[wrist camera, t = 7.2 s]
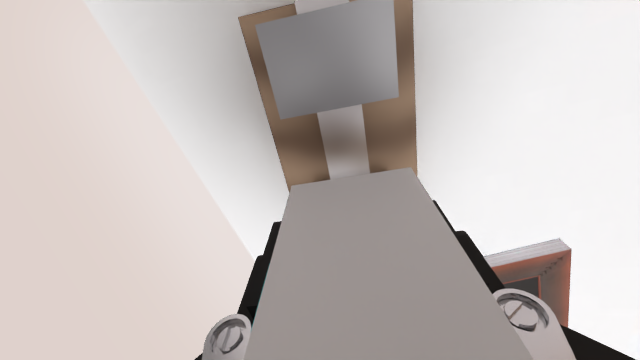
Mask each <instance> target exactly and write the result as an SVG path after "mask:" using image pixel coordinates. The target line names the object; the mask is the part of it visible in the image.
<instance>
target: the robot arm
mask: <svg viewBox="0 0 640 360" xmlns="http://www.w3.org/2000/svg"><path fill="white" fill-rule="evenodd" d="M432 201H433V202H434V204H435V206H436V207H437V209H438V210H439V212H440V213H441V215H442V217H443V218H444V220H445V221H446V223H447V224H448V226H449V228H450V229H451V231H452V232H453V234H454V235H455V237H456V239H457V240H458V242H459V243H460V245H461V246H462V248H463V249H464V251H465V253H466V254H467V256H468V257H469V259H470V260H471V262H472V264H473V265H474V267H475V268H476V270H477V271H478V273H479V275H480V276H481V278H482V279H483V281H484V282H485V284H486V286H487V287H488V289H489V290H490V292H491V293H492V295H493V296H494V298H495V300H496V301H497V303H498V304H499V306H500V307H501V309H502V311H503V312H504V314H505V315H506V317H507V318H508V320H509V322H510V323H511V325H512V326H513V328H514V329H515V331H516V333H517V334H518V336H519V337H520V339H521V340H522V342H523V344H524V345H525V347H526V348H527V350H528V351H529V353H530V354H531V356H532V358H533V359H534V360H636V359H633V358H631V357H629V356H627V355H625V354H623V353H621V352H618V351H616V350H614V349H612V348H610V347H608V346H606V345H603V344H601V343H599V342H597V341H595V340H593V339H591V338H588V337H586V336H584V335H582V334H580V333H578V332H576V331H573V330H571V329H569V328H567V327H565V326H563V325H561V324H559V322H558V320H557V318H556V316H555V314H554V313H553V311H552V310H551V308H550V307H549V306H548V305H547V304H545V303H544V302H543V301H542V300H541V299H539V298H537V297H536V296H534V295H532V294H530V293H527V292H525V291H522V290H517V289H506V288H505V287H504V285H503V284H502V282H501V281H500V280H499V278H498V277H497V275H496V274H495V272H494V271H493V270H492V268H491V267H490V265H489V264H488V263H487V261H486V260H485V258H484V257H483V255H482V254H481V253H480V251H479V250H478V248H477V247H476V246H475V244H474V243H473V241H472V240H471V239H470V237H469V236H468V234H467V233H466V232H465V231H456V232H455V230H454V229H453V227H452V226H451V224H450V222H449V221H448V219H447V218H446V216H445V215H444V213H443V212H442V210H441V209H440V207H439V206H438V204H437V203H436V201H435V200H432ZM281 222H282V221H280V222H274V223H273V226H272V229H271V232H270V235H269V239H268V242H267V245H266V248H265V251H264V254H263V255H260V256H258V257H257V259H256V261H255V264H254V267H253V270H252V272H251V275H250V278H249V281H248V284H247V287H246V290H245V292H244V295H243V298H242V301H241V304H240V307H239V310H238V312H237V314H234V315H229V316H227V317H225V318H223V319H222V320H220V321H219V322H218V323H216V325H215V326H214V327H213V328H212V329H211V330H210V332H209V334H208V335H207V337H206V340H205V344H204V350H203V353H202V354H201V355H199V356H198V357H197V358H196V359H195V360H243V359H244V356H245V352H246V348H247V345H248V341H249V338H250V334H251V328H252V325H253V321H254V317H255V314H256V310H257V307H258V303H259V300H260V296H261V292H262V289H263V285H264V282H265V278H266V274H267V271H268V267H269V264H270V262H271V258H272V255H273V251H274V247H275V244H276V240H277V236H278V233H279V229H280V226H281Z"/></svg>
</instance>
